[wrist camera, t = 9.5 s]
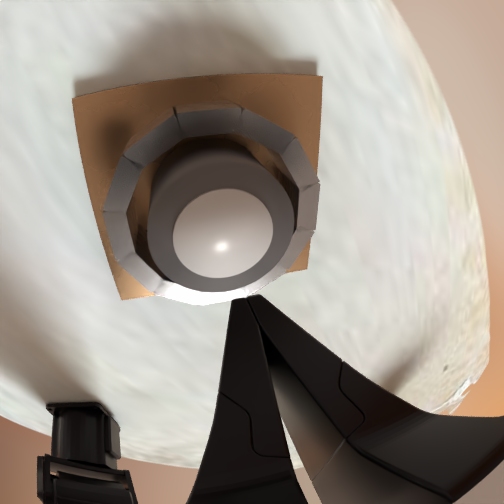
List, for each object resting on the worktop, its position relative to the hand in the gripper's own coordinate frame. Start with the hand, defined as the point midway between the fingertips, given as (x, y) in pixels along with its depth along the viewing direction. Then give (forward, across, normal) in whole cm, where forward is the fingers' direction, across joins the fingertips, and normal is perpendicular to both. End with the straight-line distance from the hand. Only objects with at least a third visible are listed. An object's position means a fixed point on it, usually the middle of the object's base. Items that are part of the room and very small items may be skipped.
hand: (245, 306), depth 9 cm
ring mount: (+9, 0, 0) cm, 9 cm away
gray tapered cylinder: (+8, 0, 0) cm, 8 cm away
